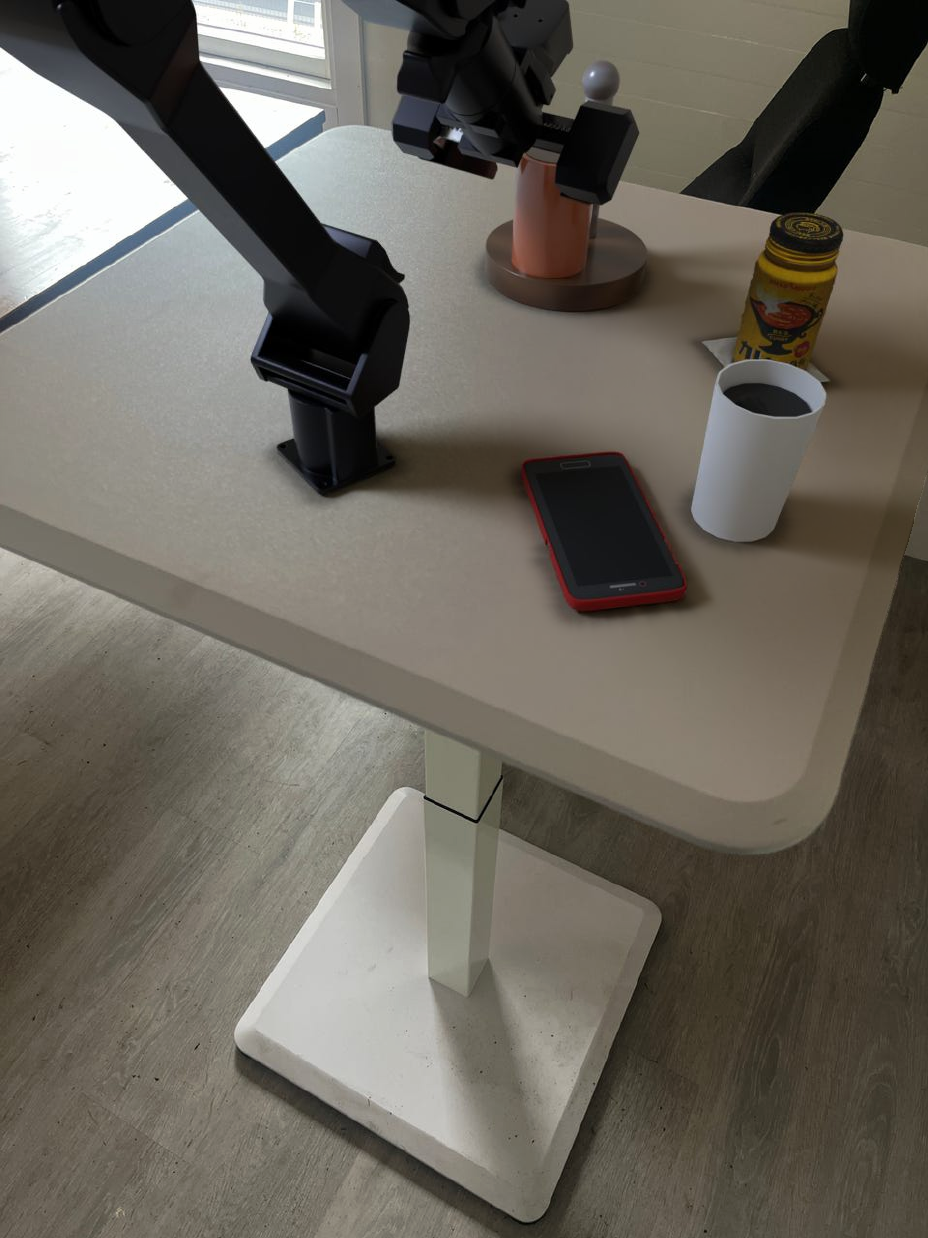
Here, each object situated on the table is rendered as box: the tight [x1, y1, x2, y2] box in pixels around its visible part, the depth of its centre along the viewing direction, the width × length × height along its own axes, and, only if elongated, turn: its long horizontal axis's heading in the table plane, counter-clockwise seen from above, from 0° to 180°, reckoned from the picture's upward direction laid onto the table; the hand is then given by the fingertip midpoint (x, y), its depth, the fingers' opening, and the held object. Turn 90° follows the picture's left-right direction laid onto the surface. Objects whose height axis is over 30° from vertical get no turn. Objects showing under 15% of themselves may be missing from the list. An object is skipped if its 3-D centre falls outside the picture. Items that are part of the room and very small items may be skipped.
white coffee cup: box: [690, 359, 827, 543], centre depth 61 cm, size 7×7×10 cm
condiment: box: [701, 211, 844, 383], centre depth 74 cm, size 7×8×12 cm
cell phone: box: [520, 451, 688, 612], centre depth 62 cm, size 8×15×1 cm, turn 10°
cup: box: [511, 147, 593, 278], centre depth 81 cm, size 7×7×10 cm
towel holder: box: [484, 59, 648, 312], centre depth 82 cm, size 15×15×17 cm
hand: (541, 185), depth 78 cm, fingers open, 9 cm apart
